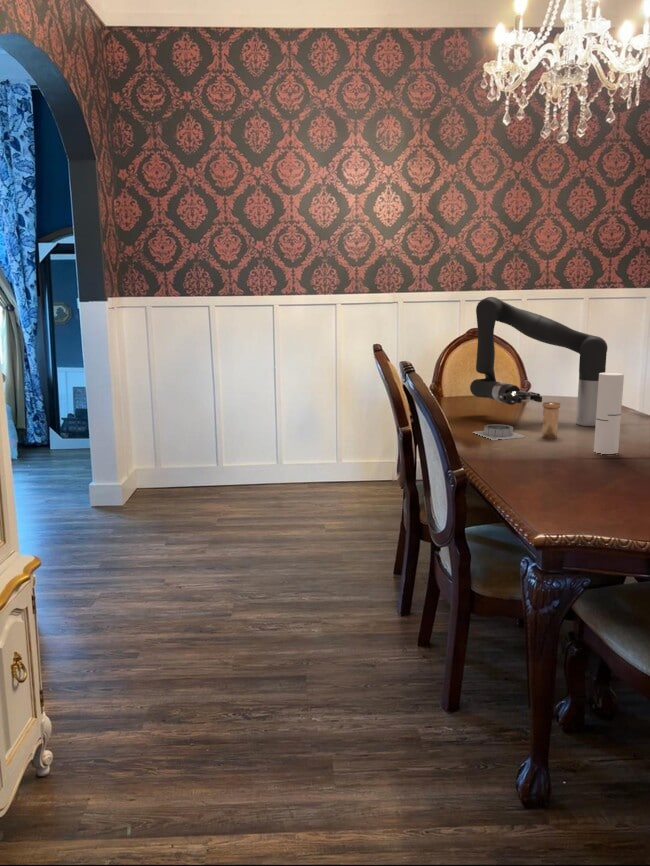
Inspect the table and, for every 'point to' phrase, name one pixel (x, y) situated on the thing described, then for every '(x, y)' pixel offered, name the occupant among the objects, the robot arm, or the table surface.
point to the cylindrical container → (608, 413)
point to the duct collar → (498, 432)
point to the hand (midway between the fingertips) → (531, 400)
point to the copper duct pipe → (550, 419)
